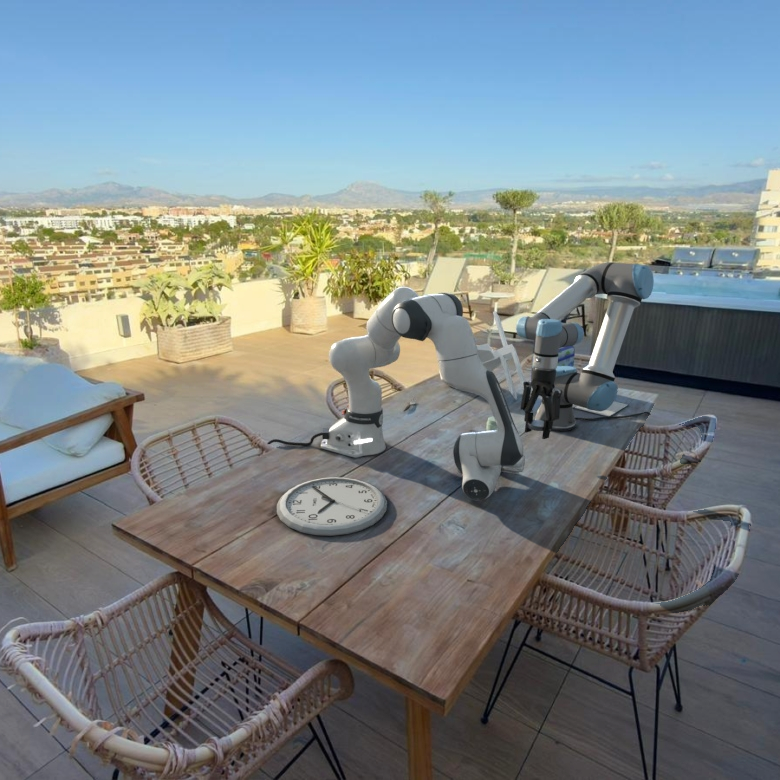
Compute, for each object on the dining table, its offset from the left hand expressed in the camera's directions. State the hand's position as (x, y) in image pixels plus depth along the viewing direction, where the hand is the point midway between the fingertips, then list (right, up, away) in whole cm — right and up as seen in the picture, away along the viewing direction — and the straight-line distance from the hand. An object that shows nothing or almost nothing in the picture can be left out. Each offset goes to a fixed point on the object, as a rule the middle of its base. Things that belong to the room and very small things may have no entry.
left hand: (494, 448), depth 165 cm
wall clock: (-49, -13, -23) cm, 55 cm away
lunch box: (+44, +20, +86) cm, 99 cm away
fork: (-25, +11, +56) cm, 63 cm away
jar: (0, -6, +1) cm, 6 cm away
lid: (+16, +7, +8) cm, 19 cm away
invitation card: (+59, +11, +61) cm, 85 cm away
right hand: (+16, +4, +9) cm, 19 cm away
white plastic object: (+9, +17, +78) cm, 80 cm away
